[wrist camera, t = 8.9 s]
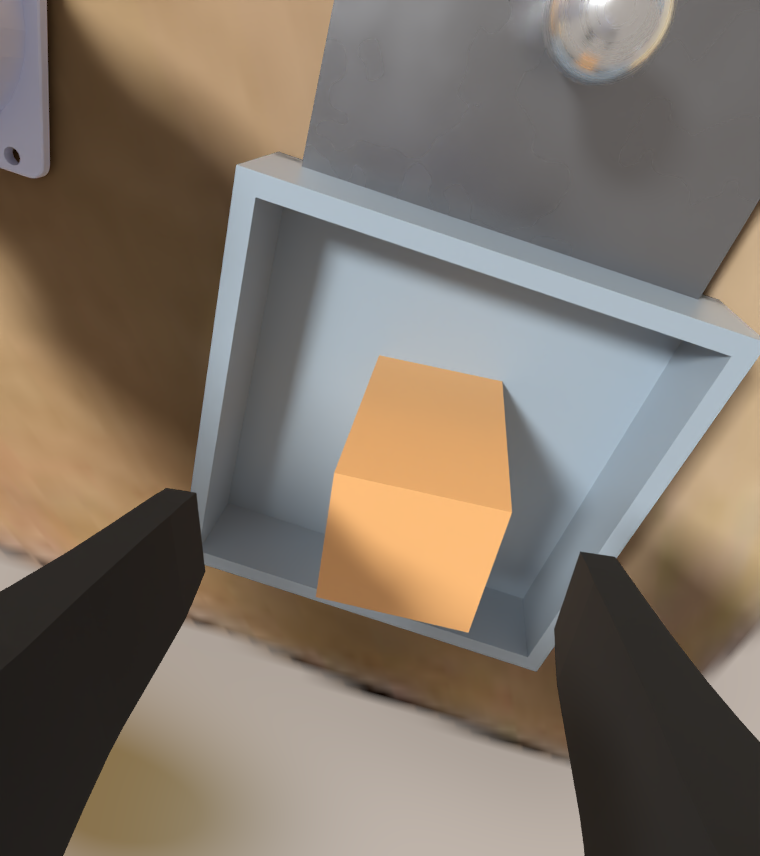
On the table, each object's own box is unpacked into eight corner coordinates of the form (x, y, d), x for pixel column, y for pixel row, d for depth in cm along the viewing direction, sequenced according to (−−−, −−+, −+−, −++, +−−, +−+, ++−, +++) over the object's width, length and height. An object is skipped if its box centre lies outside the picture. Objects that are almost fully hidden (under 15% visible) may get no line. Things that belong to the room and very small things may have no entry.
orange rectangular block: (361, 456, 22) (315, 597, 16) (379, 355, 19) (334, 472, 13) (471, 481, 21) (468, 632, 15) (502, 381, 19) (512, 512, 13)
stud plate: (303, 196, 18) (238, 235, 13) (427, -413, 12) (390, -767, 7) (670, 319, 18) (738, 402, 13) (986, -214, 12) (1329, -421, 7)
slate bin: (217, 500, 25) (181, 557, 22) (278, 151, 17) (236, 164, 14) (529, 601, 25) (536, 671, 22) (719, 299, 18) (768, 343, 15)
